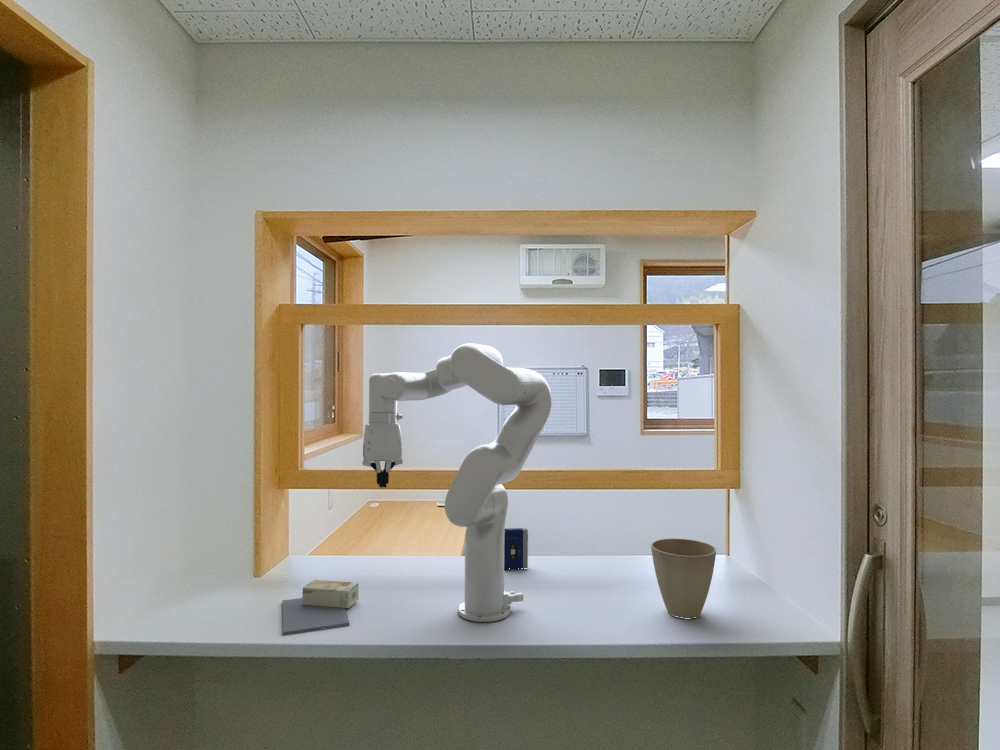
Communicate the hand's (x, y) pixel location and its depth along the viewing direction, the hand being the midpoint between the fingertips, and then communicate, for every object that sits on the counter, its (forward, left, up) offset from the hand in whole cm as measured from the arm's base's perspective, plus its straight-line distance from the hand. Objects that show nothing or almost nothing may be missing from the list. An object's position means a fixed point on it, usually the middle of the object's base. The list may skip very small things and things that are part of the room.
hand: (382, 486), depth 153 cm
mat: (+18, +12, -27) cm, 35 cm away
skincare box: (+8, +11, -24) cm, 28 cm away
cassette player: (-40, -2, -27) cm, 48 cm away
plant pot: (-64, +44, -27) cm, 82 cm away
